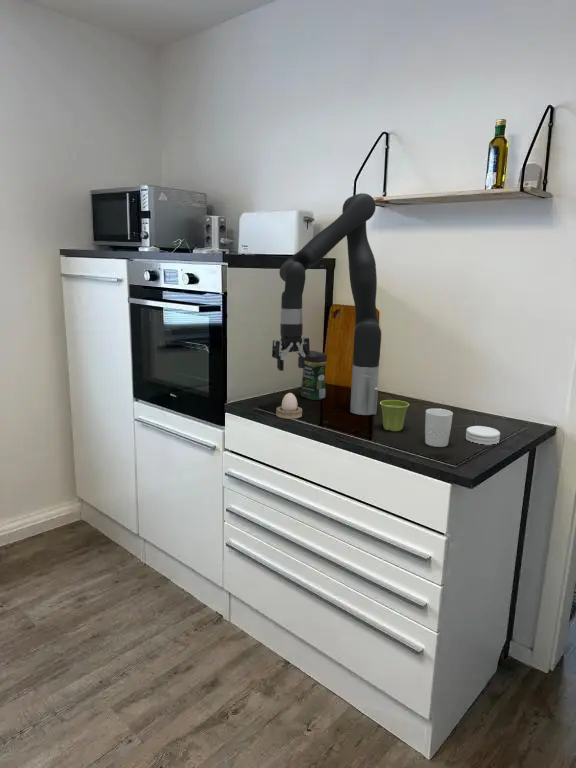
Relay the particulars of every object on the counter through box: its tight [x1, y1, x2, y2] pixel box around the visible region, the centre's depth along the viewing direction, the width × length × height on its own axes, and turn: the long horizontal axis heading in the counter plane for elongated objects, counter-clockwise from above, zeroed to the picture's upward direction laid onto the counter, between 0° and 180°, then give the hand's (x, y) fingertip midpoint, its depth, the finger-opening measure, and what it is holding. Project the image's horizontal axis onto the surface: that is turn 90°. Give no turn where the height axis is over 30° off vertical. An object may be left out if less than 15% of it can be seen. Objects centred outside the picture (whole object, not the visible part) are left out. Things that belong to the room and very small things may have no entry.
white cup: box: [424, 408, 454, 448], centre depth 170 cm, size 8×8×10 cm
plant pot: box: [379, 399, 410, 432], centre depth 184 cm, size 9×9×9 cm
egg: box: [281, 392, 298, 412], centre depth 197 cm, size 6×6×8 cm
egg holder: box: [275, 405, 303, 420], centre depth 197 cm, size 9×9×2 cm
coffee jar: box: [300, 350, 328, 401], centre depth 221 cm, size 10×8×19 cm
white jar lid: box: [465, 425, 501, 446], centre depth 176 cm, size 10×10×4 cm
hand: (290, 369), depth 194 cm, fingers open, 8 cm apart
